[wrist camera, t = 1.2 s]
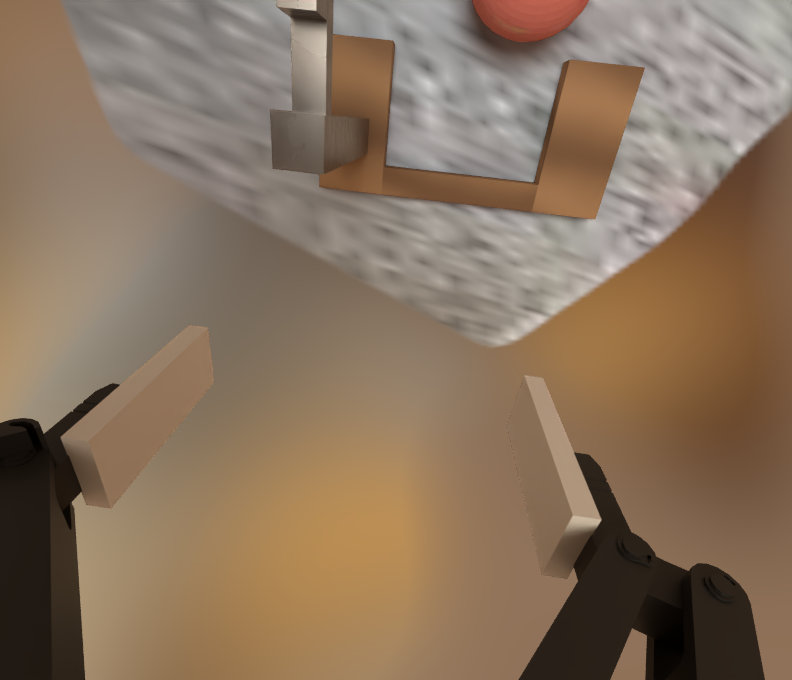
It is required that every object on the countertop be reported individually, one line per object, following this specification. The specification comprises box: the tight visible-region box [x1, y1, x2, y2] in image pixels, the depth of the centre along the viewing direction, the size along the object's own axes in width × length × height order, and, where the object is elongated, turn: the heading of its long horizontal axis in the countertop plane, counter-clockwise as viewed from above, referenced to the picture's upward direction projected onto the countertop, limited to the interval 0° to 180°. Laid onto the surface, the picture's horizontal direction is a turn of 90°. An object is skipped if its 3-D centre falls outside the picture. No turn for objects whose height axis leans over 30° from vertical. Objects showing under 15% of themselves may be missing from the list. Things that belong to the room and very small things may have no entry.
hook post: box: [270, 0, 369, 175], centre depth 23 cm, size 7×2×14 cm, turn 174°
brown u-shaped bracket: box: [319, 34, 645, 219], centre depth 30 cm, size 10×22×2 cm, turn 84°
